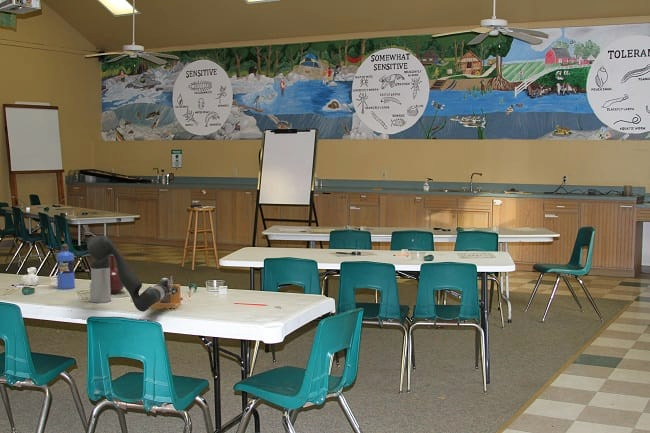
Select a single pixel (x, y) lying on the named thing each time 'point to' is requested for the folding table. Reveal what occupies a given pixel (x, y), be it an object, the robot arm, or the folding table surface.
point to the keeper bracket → (173, 297)
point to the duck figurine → (30, 277)
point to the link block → (166, 283)
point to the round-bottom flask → (114, 277)
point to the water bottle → (65, 269)
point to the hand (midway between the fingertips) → (166, 287)
